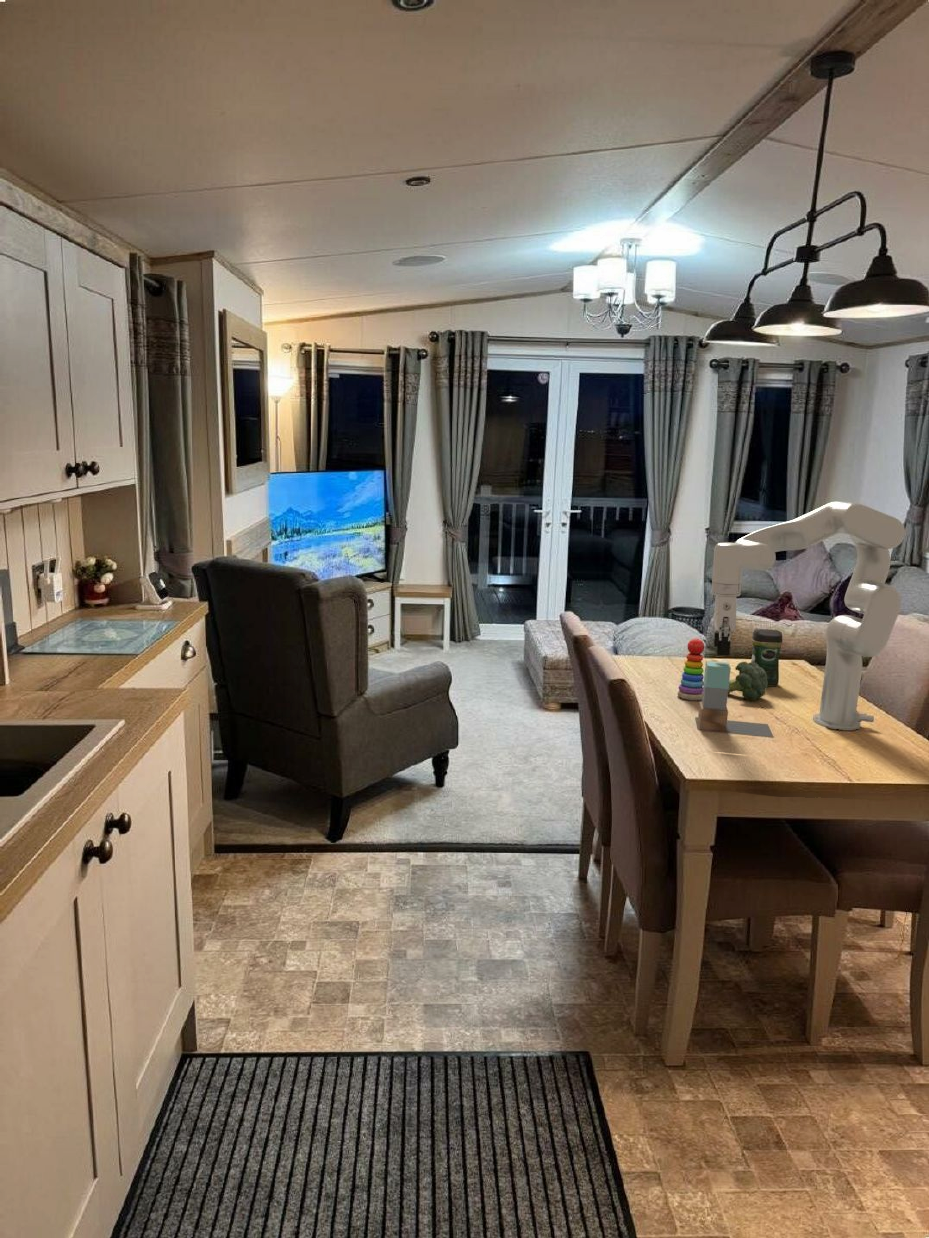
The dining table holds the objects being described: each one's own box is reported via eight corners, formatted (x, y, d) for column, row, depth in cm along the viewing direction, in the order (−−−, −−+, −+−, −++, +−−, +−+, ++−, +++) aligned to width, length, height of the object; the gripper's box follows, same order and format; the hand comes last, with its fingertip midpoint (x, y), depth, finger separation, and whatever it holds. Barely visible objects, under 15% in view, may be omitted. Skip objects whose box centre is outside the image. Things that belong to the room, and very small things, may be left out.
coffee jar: (773, 681, 292) (780, 627, 288) (780, 687, 284) (786, 632, 280) (744, 679, 292) (750, 626, 289) (750, 685, 285) (756, 631, 281)
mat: (767, 725, 243) (767, 724, 243) (773, 739, 231) (774, 737, 231) (694, 718, 247) (694, 717, 246) (697, 731, 235) (697, 730, 235)
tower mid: (723, 704, 239) (726, 683, 238) (726, 710, 233) (728, 689, 232) (701, 702, 240) (703, 681, 239) (703, 708, 235) (705, 687, 233)
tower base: (723, 724, 241) (725, 704, 240) (725, 732, 234) (728, 711, 233) (697, 722, 242) (699, 701, 241) (699, 729, 235) (701, 708, 234)
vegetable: (729, 680, 282) (773, 668, 273) (732, 714, 274) (778, 703, 266) (712, 663, 274) (757, 650, 266) (715, 698, 267) (761, 685, 259)
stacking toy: (704, 702, 263) (710, 642, 260) (677, 699, 265) (683, 640, 261) (702, 695, 271) (708, 637, 267) (676, 693, 272) (682, 635, 269)
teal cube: (726, 683, 238) (728, 662, 237) (728, 689, 232) (730, 667, 231) (703, 681, 239) (705, 660, 238) (705, 687, 233) (707, 665, 232)
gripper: (744, 595, 221) (739, 659, 225) (737, 584, 238) (732, 644, 242) (714, 593, 223) (709, 657, 226) (709, 583, 239) (704, 643, 243)
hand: (721, 650), depth 234 cm, fingers open, 9 cm apart
